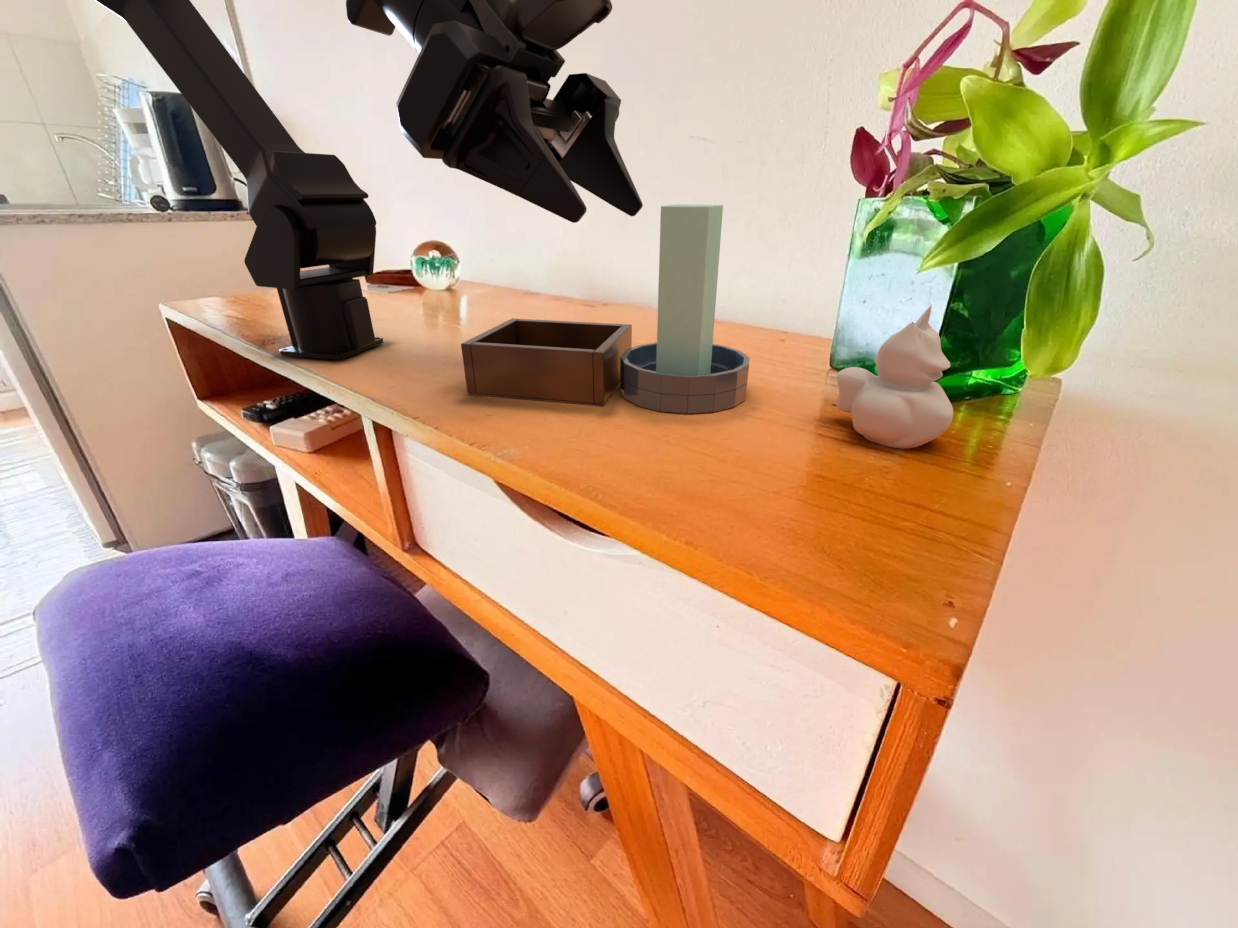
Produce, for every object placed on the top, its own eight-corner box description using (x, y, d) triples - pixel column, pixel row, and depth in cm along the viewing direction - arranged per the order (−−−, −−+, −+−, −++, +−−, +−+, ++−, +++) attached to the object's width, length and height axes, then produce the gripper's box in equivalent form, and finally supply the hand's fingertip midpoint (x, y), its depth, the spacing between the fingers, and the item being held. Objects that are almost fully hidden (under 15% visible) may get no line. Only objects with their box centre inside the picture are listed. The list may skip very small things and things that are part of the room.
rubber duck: (919, 473, 29) (961, 319, 25) (806, 435, 33) (829, 300, 29) (957, 444, 32) (1000, 304, 28) (850, 413, 36) (875, 289, 33)
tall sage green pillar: (654, 396, 38) (660, 206, 33) (670, 381, 41) (677, 204, 35) (696, 401, 37) (709, 206, 32) (709, 386, 40) (723, 204, 34)
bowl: (607, 414, 36) (606, 370, 35) (635, 375, 44) (636, 338, 43) (742, 426, 34) (747, 380, 33) (747, 383, 42) (751, 344, 41)
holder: (468, 401, 39) (460, 343, 37) (515, 367, 46) (511, 318, 44) (604, 413, 37) (603, 352, 35) (631, 375, 44) (631, 324, 42)
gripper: (397, -227, 22) (646, 77, 23) (593, -58, 38) (737, 121, 39) (309, 33, 29) (508, 264, 30) (507, 87, 44) (633, 238, 45)
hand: (612, 214), depth 36 cm, fingers open, 9 cm apart
